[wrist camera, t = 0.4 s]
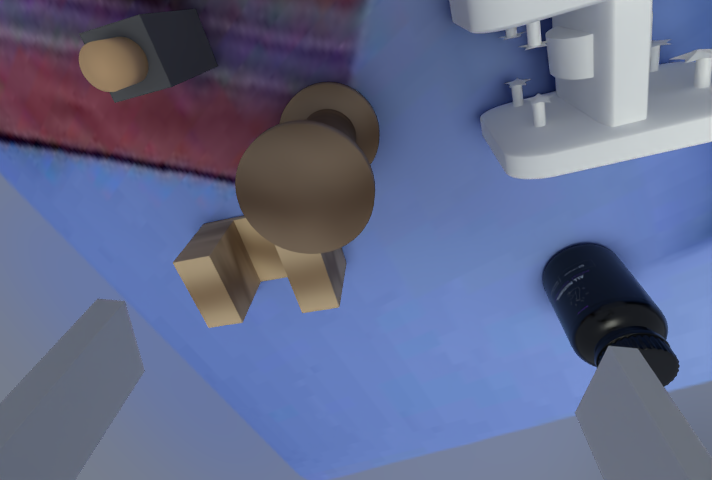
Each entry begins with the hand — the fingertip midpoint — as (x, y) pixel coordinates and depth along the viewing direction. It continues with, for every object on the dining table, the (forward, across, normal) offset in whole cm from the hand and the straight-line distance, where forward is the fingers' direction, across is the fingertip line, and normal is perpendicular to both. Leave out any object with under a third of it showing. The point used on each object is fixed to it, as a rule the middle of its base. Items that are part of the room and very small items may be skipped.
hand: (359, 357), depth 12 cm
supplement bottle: (+26, +20, -13) cm, 35 cm away
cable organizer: (+26, +12, +7) cm, 29 cm away
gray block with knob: (+26, -15, +4) cm, 30 cm away
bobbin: (+25, -4, -2) cm, 26 cm away
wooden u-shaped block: (+25, -9, -13) cm, 30 cm away
